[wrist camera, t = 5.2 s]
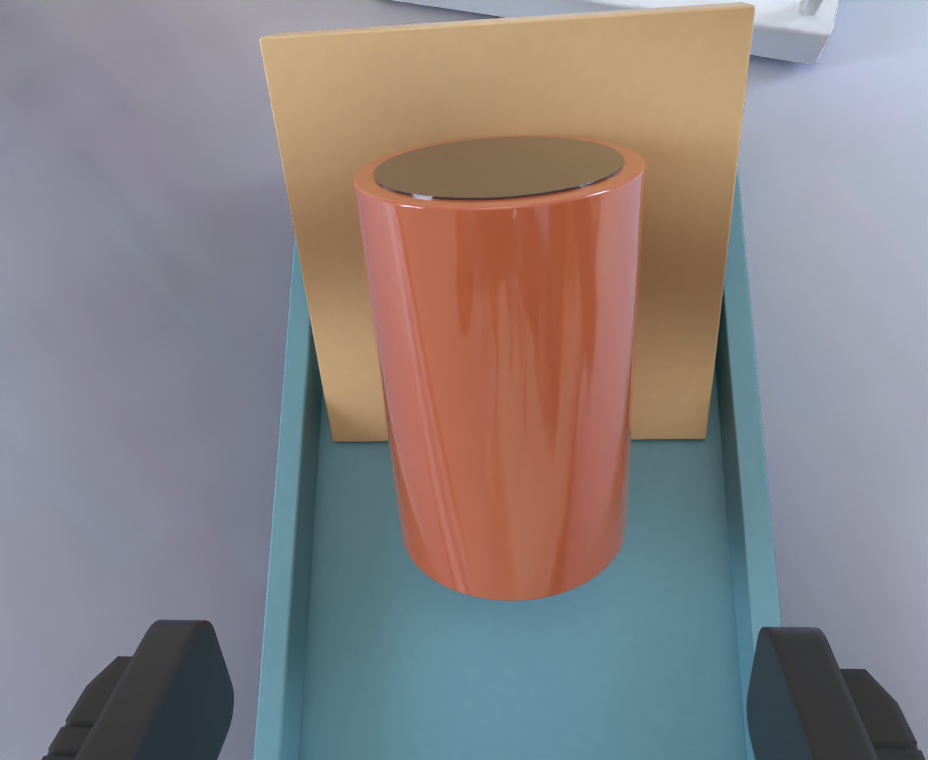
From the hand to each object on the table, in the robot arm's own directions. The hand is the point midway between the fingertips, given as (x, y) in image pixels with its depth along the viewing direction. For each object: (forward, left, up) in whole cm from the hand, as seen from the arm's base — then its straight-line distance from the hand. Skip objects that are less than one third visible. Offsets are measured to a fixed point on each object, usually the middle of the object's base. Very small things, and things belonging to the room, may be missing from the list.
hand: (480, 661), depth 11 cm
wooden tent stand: (+7, -7, -13) cm, 16 cm away
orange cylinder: (+5, -5, -12) cm, 14 cm away
